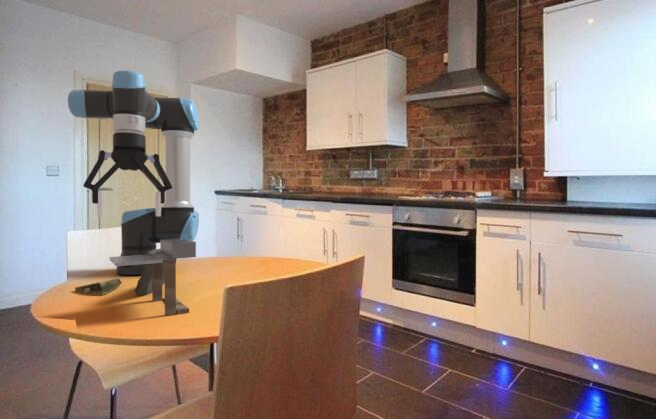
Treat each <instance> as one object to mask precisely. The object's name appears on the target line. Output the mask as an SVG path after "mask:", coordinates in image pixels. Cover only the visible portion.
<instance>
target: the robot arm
mask: <svg viewBox="0 0 656 419" xmlns="http://www.w3.org/2000/svg"><path fill="white" fill-rule="evenodd" d="M146 87H147V85H146V78H145V75H143V74H141V73H139V72H136V71H132V70H123V69H121V70H117V71H115V72H114V73H113V74H112V82H111V88H112V90H102V89H101V90H98V89H96V90H95V89H72V90H71V91H70V92H69V93H68V95H67V105H68V109H69V112H70V114H71V115H72V116H73V117H75V118H80V119H81V118H83V119H100V120H111V121H112V131H113V132H114V133H113V134H112V152H108V151H105V150H100V151H98V154H97V155H98V156H97V160H96V162H95V164H94V165H93V168H92V169H91V170H90V173H89V174H88V176H87V178H86V179H85V181H84V183H83V185H82V186H83V187H84V189H89V190H90V191H91V203H92V204H94V205H95V204H97V206H96V208H97V211H96V213H97V216H96V217H97V218H103V207H102V206H103V192H102V190H99V188H101V187H102V186H103V185H104V183H106V181H108V180H109V179H110V177H111V176H113V175H114V173H116V172H117V171H118V170H119V169H120V170H122V171H135V172H137V171H140V172H141V173H142V174H143V175H144V176H145V177H146V178H147V180H149V181H150V183H151V184H152V185H153V186H154V187H155V188H156V190H157V191H156V192H155V207H149V208H141V209H132V210H127V211H124V212H123V213H122V214H121V223H120V226H121V230H120V231H121V253H120V255H119V256H133V255H146V254H147V253H148V252H149V251H152V250H156V249H157V244H160V240H162V239H186V240H190V241H194V240H195V239H196V237H197V234H198V229H199V222H200V219H199V216H200V215H199V212H198V211H196V210H195V206H194V205H193V204H192V203H191V195H190V194H191V176H190V175H191V139H192V138H193V137H194V136H195V132H196V131H198V130H199V128H200V127H199V126H200V123H199V122H200V121H199V120H200V119H199V115H198V110H197V109H198V108H197V107H196V103H195V102H194V100H192V99H190V98H186V97H185V98H184V97H156V96H155V97H154V96H153V95H151V94H150V93H149V92H148V91H147V90H146ZM146 129H151V130H160V132H161V135H162V136H163V138H165V170H164V168H163V166H162V164H161V162H160V155H159V154H158V153H154V154H147V150H146V148H147V147H146V143H147V141H146V136H145V134H146ZM109 158H111V160H112V161H113V163H114V164H113V165H112V166H111V167H110V168H109V169H108V171H106V173H104V174H103V176H101V178H99V179H98V181H96V183H94V184H92V183H93V181H94V179H95V178H96V176H97V174H98V173H99V171H100V169H101V168H102V166H103V164H104V161H107V160H108V159H109ZM148 160H149V162H150V163H151V164H153V167H154V168H155V170H156V173H157V175H158V177H159V179H160V180H161V182H160V180H158V178H157V177H156V176H155V175H154V174H153V173H152V171H151V170H150V169H149V168H148V166H147V165H146V162H147V161H148ZM161 204H162V205H161ZM143 269H144V264H140V265H127V266H116V274H117V275H124V276H125V275H128V276H131V275H142V272H143Z"/></svg>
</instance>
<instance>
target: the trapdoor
mask: <svg viewBox="0 0 656 419" xmlns="http://www.w3.org/2000/svg"><path fill="white" fill-rule="evenodd" d="M159 244H160V248H159V249H160V252H156V254H149V255H133V256H120V255H119V256H109V261H110V262H111V263H112V264H113V265H114V266H115V267H117V266H127V265H140V264H153V263H165V259H177V260H178V259H186V258H187V259H189V258H197V242H196V241H194V240H193V241H190V240H186V239H162V240H160V243H159Z"/></svg>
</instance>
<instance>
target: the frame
mask: <svg viewBox="0 0 656 419" xmlns="http://www.w3.org/2000/svg"><path fill="white" fill-rule="evenodd" d="M155 254H156V253H155ZM176 263H177V260H176V259H165V283H164V297H163V285H162V263H153V264H152V293H151V294H152V302H153V303H154V302H161V301H163V302H164V316H165V317H169V316H176V315H183V314H189V313H190V308H189V307H188V306H186V305H185V304H183V302H181V301H180V300H179V299H177V291H176V290H177V289H176V288H177V284H176V282H177V281H176V280H177V279H176V278H177V277H176V276H177V275H176V268H177V267H176V265H177V264H176Z"/></svg>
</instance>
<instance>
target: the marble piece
mask: <svg viewBox="0 0 656 419" xmlns="http://www.w3.org/2000/svg"><path fill="white" fill-rule="evenodd" d="M156 252H160V248H158V249H157V248H156V250H152V251H149V252H148V253H147V254H146V255H149V254H155V253H156ZM177 260H178V258H177V259H176V261H177ZM163 285H165V263H162V286H163ZM134 292H135V294H136V295H138V296H140V297H143V296H148V295H150V294H152V264H144V269H143V272H142V274H140V277H139V279H138V281H137V284H136V286H135V288H134Z"/></svg>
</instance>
